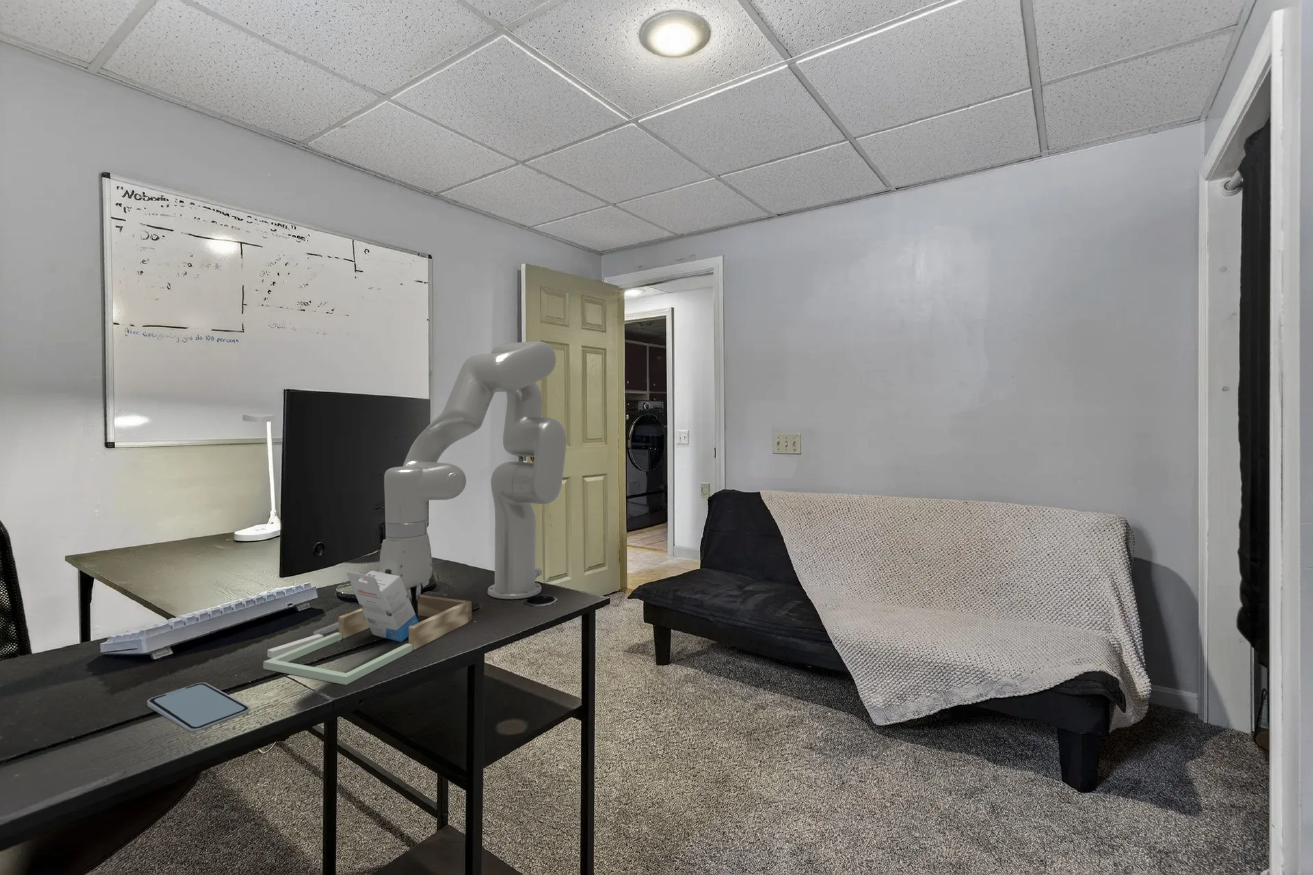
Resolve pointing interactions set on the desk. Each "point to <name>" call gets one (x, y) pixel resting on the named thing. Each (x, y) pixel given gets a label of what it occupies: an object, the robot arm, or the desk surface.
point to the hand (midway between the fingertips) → (409, 620)
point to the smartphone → (197, 706)
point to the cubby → (441, 621)
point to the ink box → (384, 604)
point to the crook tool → (327, 629)
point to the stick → (291, 646)
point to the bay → (284, 666)
